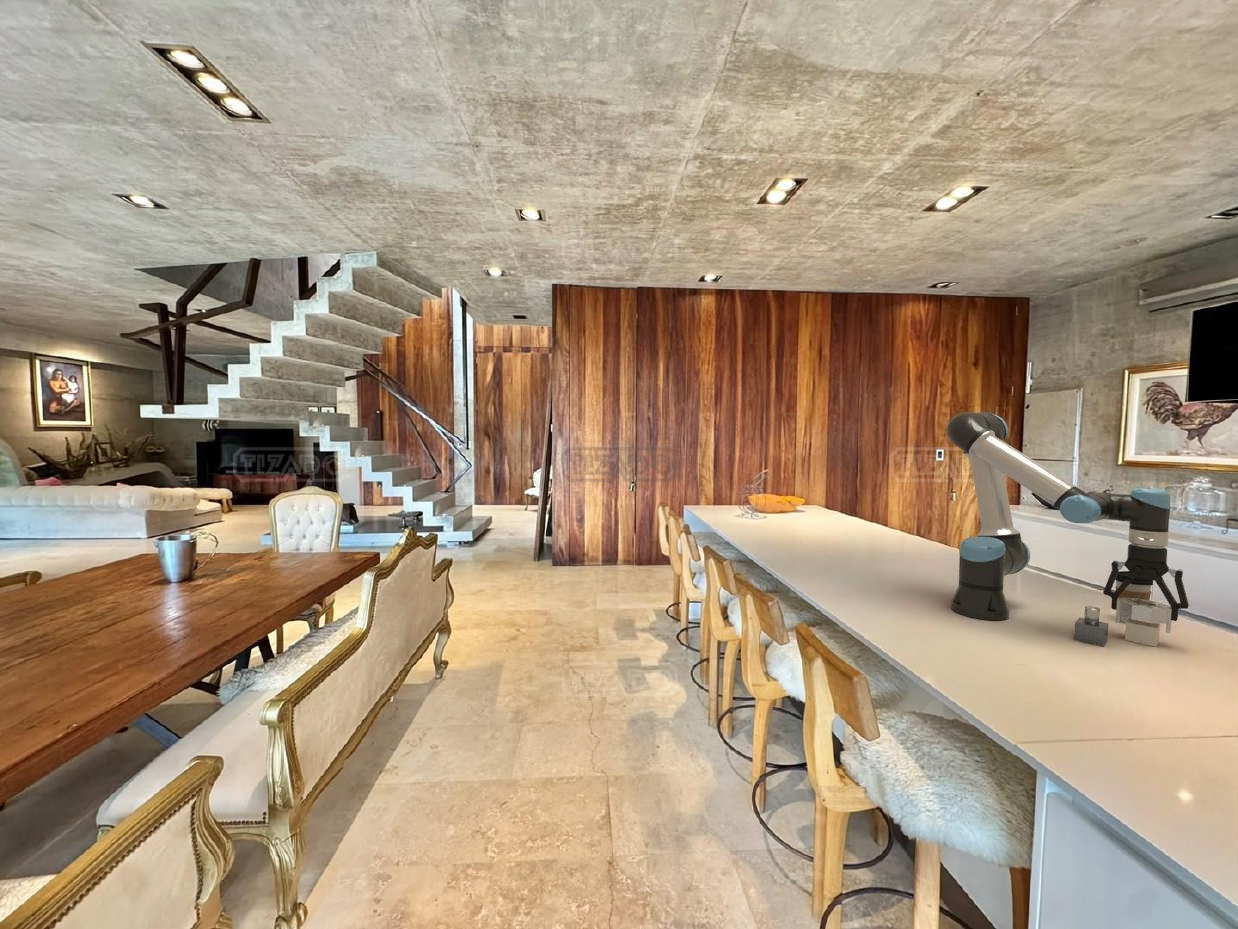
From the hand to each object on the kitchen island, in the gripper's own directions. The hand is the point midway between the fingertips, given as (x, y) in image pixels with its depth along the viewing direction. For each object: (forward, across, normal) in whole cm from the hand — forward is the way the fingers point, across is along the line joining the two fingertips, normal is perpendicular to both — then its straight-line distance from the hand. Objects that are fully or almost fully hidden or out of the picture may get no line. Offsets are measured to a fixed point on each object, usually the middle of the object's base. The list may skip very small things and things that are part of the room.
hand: (1142, 626), depth 143 cm
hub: (+4, 0, 0) cm, 4 cm away
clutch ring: (-3, 0, 0) cm, 3 cm away
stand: (+4, -9, -11) cm, 15 cm away
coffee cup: (+4, -4, +18) cm, 19 cm away
